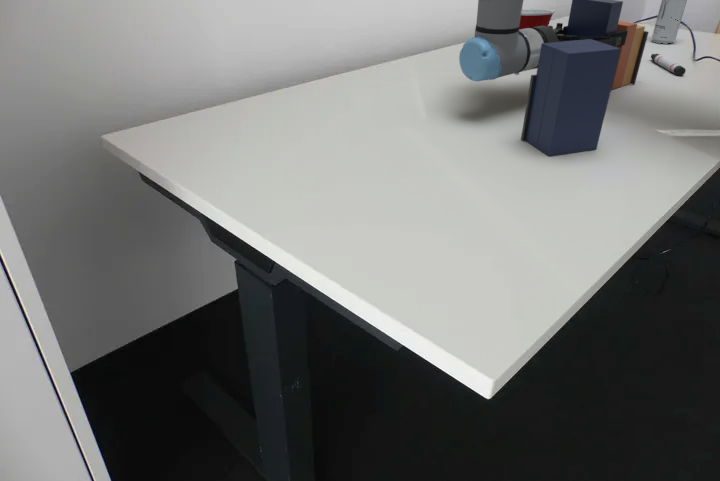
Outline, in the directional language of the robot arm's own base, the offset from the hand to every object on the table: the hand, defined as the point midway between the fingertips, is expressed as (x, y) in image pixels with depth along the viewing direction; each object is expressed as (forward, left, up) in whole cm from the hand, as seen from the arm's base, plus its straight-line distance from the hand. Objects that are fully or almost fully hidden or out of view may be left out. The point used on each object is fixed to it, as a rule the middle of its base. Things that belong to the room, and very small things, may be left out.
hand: (603, 33), depth 112 cm
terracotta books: (-2, -4, -11) cm, 12 cm away
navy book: (+2, +4, -9) cm, 10 cm away
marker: (-11, -24, -11) cm, 29 cm away
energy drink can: (-7, -53, -11) cm, 54 cm away
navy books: (-3, +37, -11) cm, 39 cm away
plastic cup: (+20, -14, -11) cm, 27 cm away
